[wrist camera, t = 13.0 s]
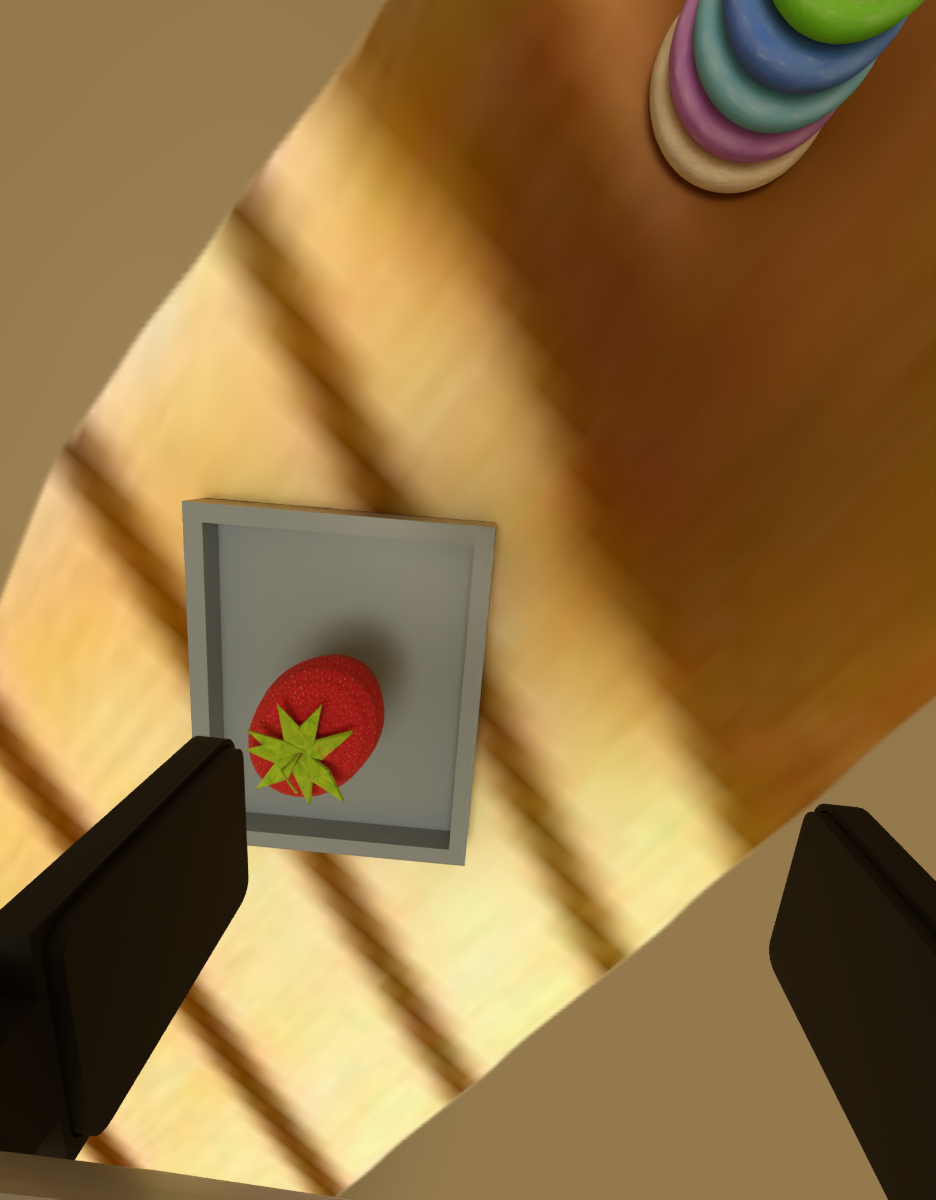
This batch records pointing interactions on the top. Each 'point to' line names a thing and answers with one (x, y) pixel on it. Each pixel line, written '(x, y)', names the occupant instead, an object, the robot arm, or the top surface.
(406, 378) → the top surface
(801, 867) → the robot arm
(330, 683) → the strawberry
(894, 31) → the stacking toy
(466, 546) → the tray
